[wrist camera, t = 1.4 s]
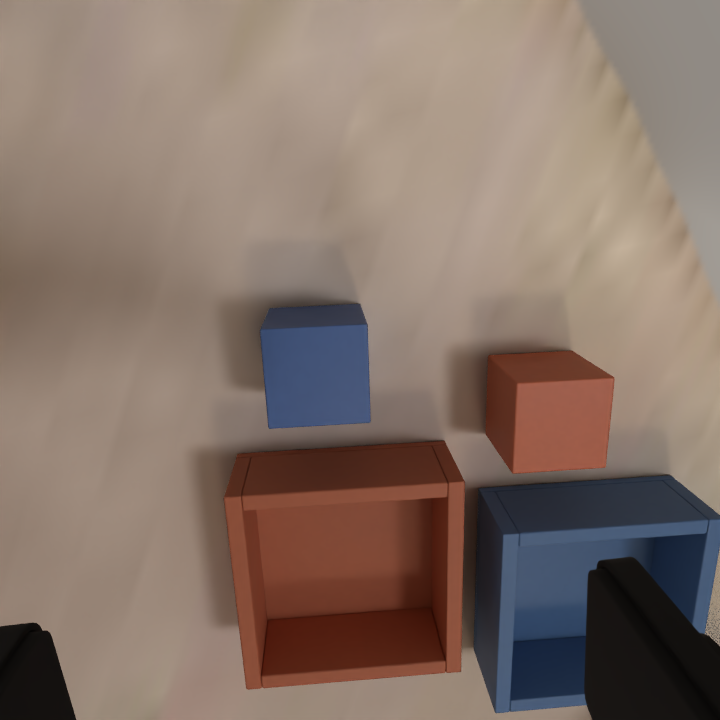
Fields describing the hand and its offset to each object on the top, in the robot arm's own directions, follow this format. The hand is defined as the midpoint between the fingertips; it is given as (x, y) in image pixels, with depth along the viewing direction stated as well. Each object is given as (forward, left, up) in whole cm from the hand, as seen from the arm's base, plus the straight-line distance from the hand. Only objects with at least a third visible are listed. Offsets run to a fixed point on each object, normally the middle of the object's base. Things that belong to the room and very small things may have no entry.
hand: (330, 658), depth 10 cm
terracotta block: (+11, -3, -20) cm, 23 cm away
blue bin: (+14, -14, -20) cm, 28 cm away
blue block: (0, 0, -20) cm, 20 cm away
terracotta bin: (+1, -11, -20) cm, 22 cm away
